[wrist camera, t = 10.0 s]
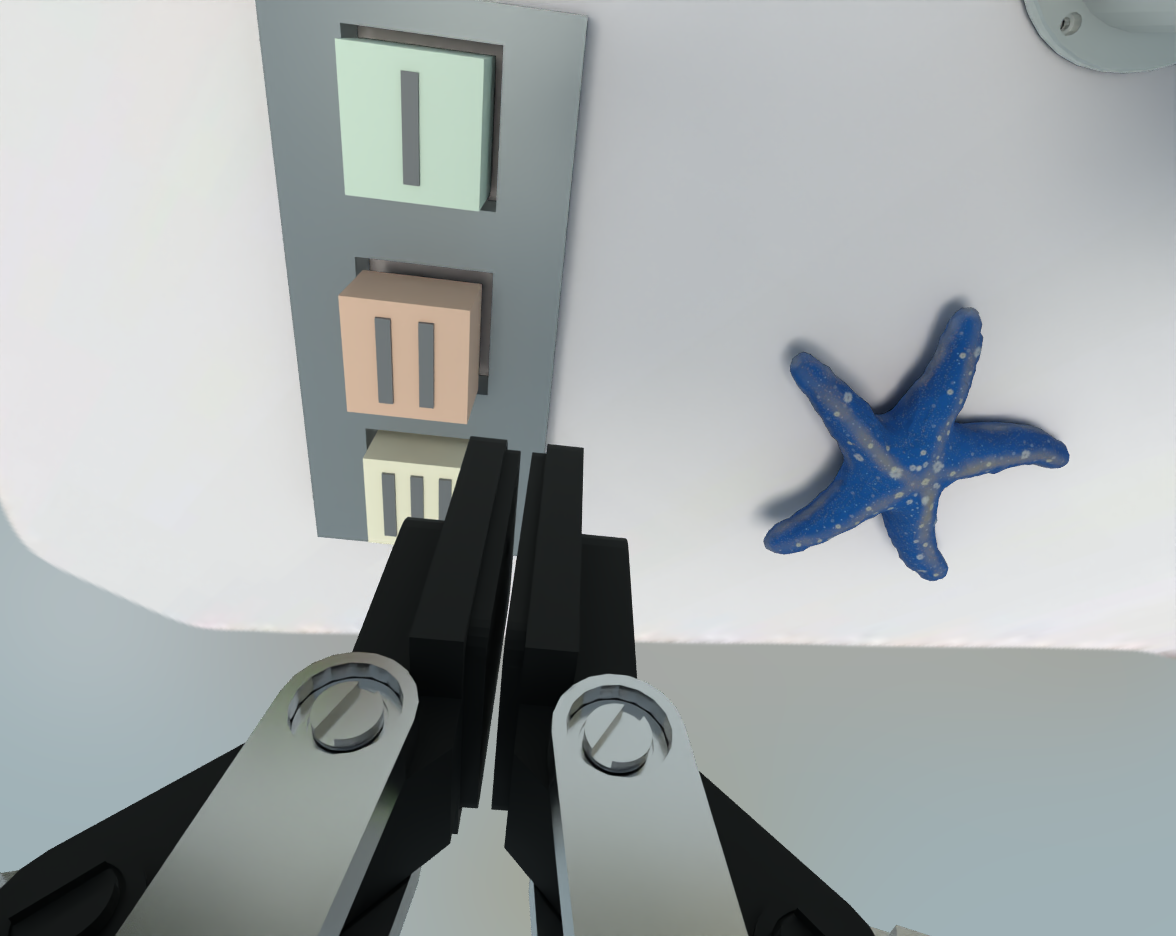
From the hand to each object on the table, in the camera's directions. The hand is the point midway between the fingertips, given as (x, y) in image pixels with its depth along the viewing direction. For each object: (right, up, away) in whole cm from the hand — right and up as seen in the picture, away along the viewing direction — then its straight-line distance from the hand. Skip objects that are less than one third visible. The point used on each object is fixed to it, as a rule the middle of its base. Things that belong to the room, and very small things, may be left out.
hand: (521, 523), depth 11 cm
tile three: (-9, +1, +33) cm, 34 cm away
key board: (-8, +10, +28) cm, 31 cm away
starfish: (+21, +3, +33) cm, 39 cm away
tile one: (-7, +17, +22) cm, 29 cm away
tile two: (-8, +8, +26) cm, 28 cm away
